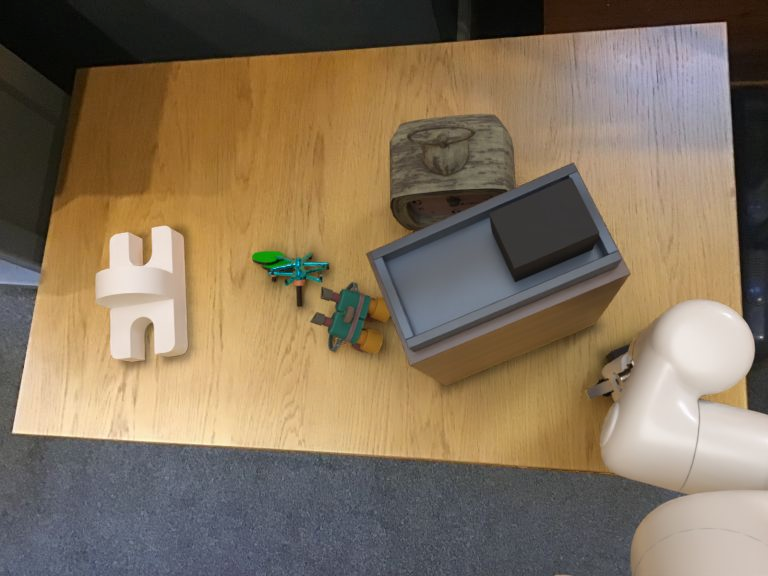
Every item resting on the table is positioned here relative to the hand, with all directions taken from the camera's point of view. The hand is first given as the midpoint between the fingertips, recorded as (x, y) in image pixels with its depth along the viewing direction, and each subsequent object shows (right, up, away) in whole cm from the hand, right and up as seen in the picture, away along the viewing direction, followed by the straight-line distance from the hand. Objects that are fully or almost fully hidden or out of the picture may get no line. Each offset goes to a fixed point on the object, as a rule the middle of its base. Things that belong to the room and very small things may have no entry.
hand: (638, 374), depth 79 cm
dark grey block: (-17, +14, -23) cm, 32 cm away
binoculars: (-33, +5, +9) cm, 35 cm away
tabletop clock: (-20, +22, +10) cm, 31 cm away
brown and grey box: (-15, +7, +5) cm, 18 cm away
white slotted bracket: (-63, +9, +16) cm, 66 cm away
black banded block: (0, 0, 0) cm, 0 cm away
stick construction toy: (-43, +12, +12) cm, 46 cm away
